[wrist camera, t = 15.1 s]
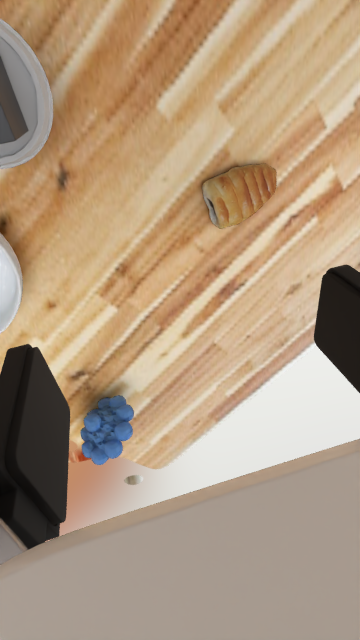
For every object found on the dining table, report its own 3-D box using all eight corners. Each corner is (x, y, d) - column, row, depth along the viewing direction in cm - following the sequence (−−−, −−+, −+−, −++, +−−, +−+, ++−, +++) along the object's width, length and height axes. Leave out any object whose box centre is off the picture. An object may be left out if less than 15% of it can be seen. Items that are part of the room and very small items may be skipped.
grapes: (106, 368, 53) (112, 428, 44) (137, 384, 57) (148, 443, 48) (62, 411, 56) (58, 476, 47) (94, 424, 60) (96, 487, 50)
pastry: (264, 146, 40) (279, 151, 37) (276, 197, 44) (290, 205, 41) (195, 183, 41) (205, 191, 37) (213, 230, 45) (223, 240, 42)
